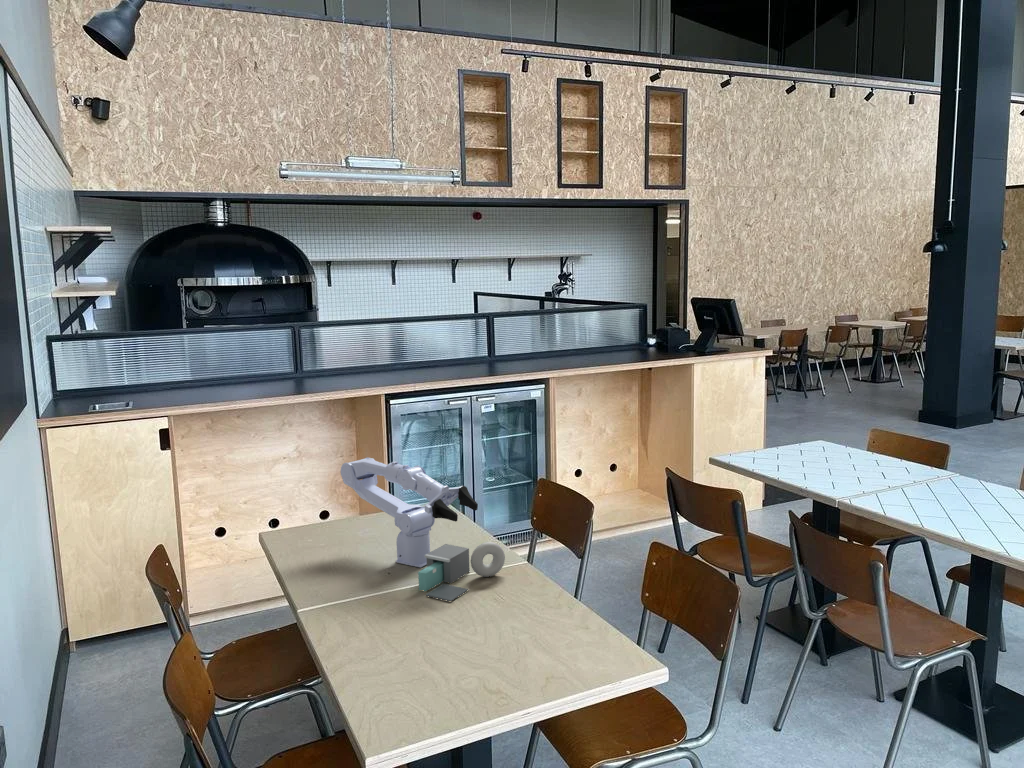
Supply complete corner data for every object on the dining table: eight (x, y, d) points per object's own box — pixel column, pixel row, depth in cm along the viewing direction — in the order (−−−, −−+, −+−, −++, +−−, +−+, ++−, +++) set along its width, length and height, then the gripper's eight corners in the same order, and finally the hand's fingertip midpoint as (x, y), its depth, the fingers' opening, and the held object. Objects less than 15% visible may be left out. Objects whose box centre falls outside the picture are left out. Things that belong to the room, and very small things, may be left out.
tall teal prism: (418, 590, 204) (418, 572, 204) (442, 576, 214) (442, 558, 213) (426, 592, 203) (425, 573, 203) (449, 577, 213) (449, 560, 212)
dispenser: (425, 579, 212) (424, 555, 211) (446, 567, 220) (445, 543, 219) (449, 584, 208) (448, 560, 207) (469, 572, 216) (468, 548, 215)
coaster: (425, 596, 200) (425, 594, 200) (443, 585, 207) (443, 583, 207) (451, 602, 196) (450, 600, 196) (468, 591, 203) (468, 589, 203)
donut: (473, 581, 209) (472, 546, 208) (469, 577, 212) (468, 542, 211) (507, 575, 213) (506, 541, 212) (502, 571, 216) (502, 537, 215)
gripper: (414, 489, 210) (447, 511, 202) (452, 470, 220) (486, 490, 212) (413, 510, 213) (446, 532, 205) (451, 490, 223) (484, 511, 215)
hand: (466, 512), depth 209 cm, fingers open, 7 cm apart
